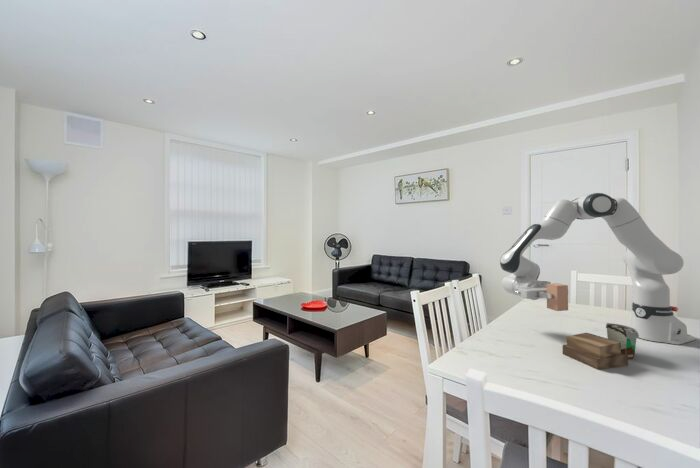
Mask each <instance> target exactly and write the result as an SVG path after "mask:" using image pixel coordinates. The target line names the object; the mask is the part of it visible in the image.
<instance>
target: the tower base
mask: <svg viewBox="0 0 700 468" xmlns="http://www.w3.org/2000/svg"><path fill="white" fill-rule="evenodd" d="M562 355H564V356H566V357H568V358H570V359H572V360H575V361H577V362H579V363H582V364H583V365H586V366H588V367H591V368H592V369H595V370H605V369H613V368H620V367H627V366H629V359H628V355H625V354H622V353H621V354H617V355H613V356H609V357H605V358H601V359H600V358H597V357H594V356H592V355H589V354H586V353H583V352H580V351H577V350H574V349H572V348H569V347H567V344H562Z"/></svg>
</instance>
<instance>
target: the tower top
mask: <svg viewBox="0 0 700 468" xmlns="http://www.w3.org/2000/svg"><path fill="white" fill-rule="evenodd" d="M566 345H567V347H569V348H572V349H574V350H577V351H580V352H583V353H586V354H589V355H592V356H594V357H597V358H600V359H601V358H605V357H609V356H613V355H617V354H621V342H618V341H614V340H611V339H608V337H603V336H601V335H596V334H594V333H590V332H582V333H577V334H573V335H567V336H566Z"/></svg>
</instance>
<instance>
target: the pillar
mask: <svg viewBox="0 0 700 468" xmlns="http://www.w3.org/2000/svg"><path fill="white" fill-rule="evenodd" d="M547 293H551V294H553V295H554V298H551V299H550V298H546V308H547V309H549V310H552V311H555V312H563V311H569V285H568V284H563V283H558V282H557V283H556V282H555V283H551V284H547Z"/></svg>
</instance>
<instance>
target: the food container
mask: <svg viewBox="0 0 700 468" xmlns="http://www.w3.org/2000/svg"><path fill="white" fill-rule="evenodd" d="M605 329H606V334H607V336H606V338H607V339H611V340H614V341H618V342H621V353H622V354H625V355H628V360H633V359H635V355H636V346H637V339H640V338H639V335H638V332H637V330H636V329H634V328H631V327H629V326H628V325H623V324H619V323H610V322H607V323H606V324H605Z"/></svg>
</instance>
